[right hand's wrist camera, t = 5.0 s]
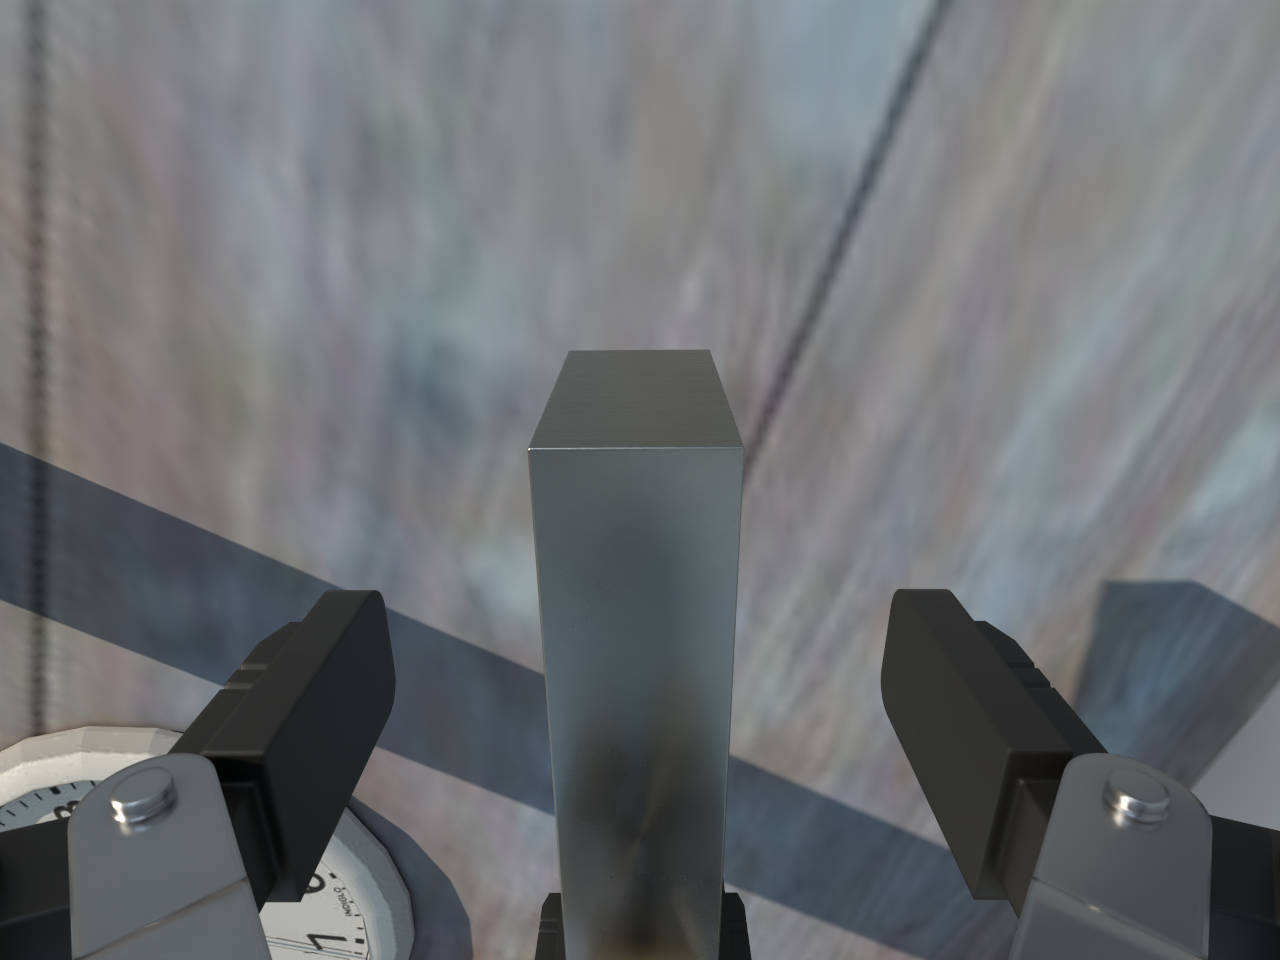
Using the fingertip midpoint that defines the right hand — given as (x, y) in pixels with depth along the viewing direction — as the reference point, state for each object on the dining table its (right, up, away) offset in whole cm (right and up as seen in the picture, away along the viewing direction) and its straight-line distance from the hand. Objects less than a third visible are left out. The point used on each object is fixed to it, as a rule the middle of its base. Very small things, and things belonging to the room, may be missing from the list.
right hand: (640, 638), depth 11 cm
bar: (0, -4, +17) cm, 17 cm away
